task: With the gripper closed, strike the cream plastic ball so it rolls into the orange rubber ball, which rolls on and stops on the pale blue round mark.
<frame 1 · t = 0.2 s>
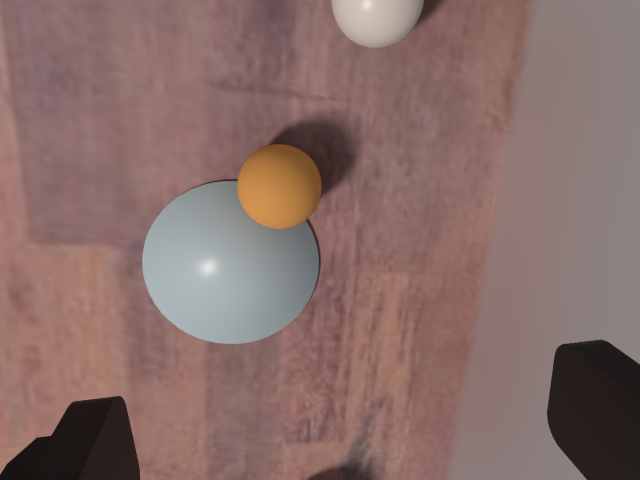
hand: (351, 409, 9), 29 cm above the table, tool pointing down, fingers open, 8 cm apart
object ball: (279, 186, 33), on the table
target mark: (233, 266, 37), on the table
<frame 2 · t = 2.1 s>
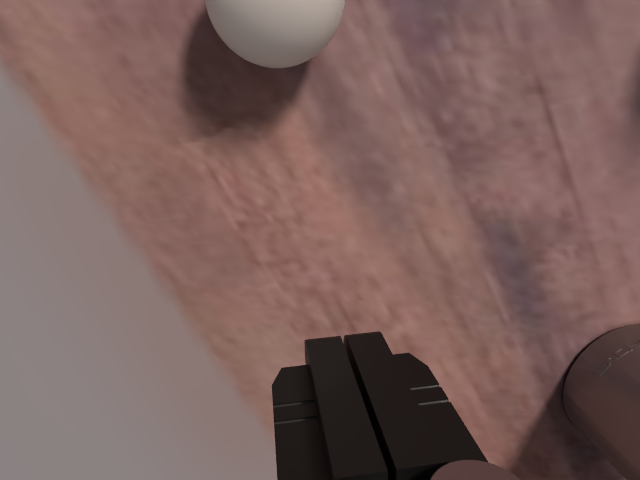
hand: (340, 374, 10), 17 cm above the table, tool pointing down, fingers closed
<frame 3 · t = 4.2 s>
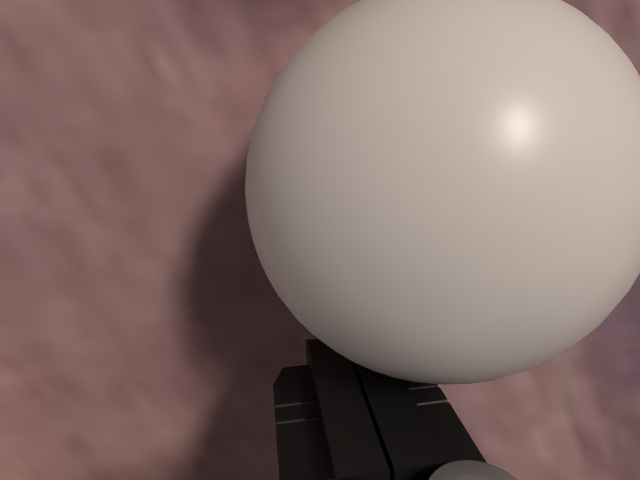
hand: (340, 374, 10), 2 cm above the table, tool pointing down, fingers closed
cue ball: (433, 189, 7), on the table
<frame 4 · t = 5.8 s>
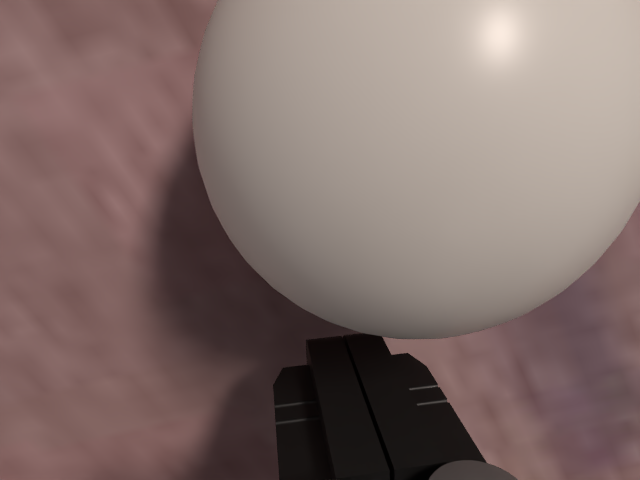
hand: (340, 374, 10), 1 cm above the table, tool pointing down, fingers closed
cue ball: (407, 126, 7), on the table
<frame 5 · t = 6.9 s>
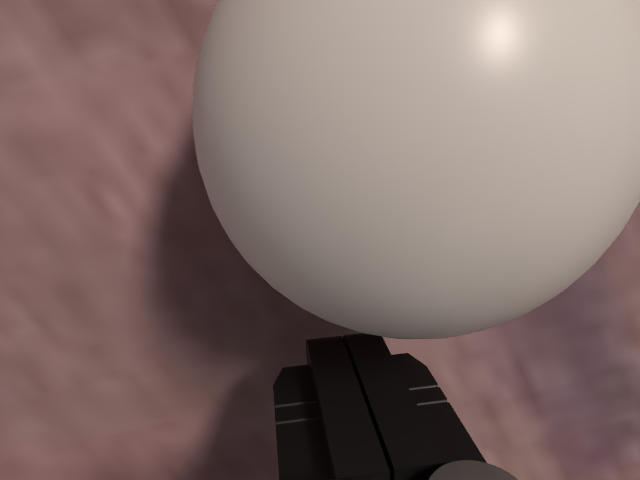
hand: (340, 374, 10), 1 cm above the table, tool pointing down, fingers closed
cue ball: (407, 126, 7), on the table
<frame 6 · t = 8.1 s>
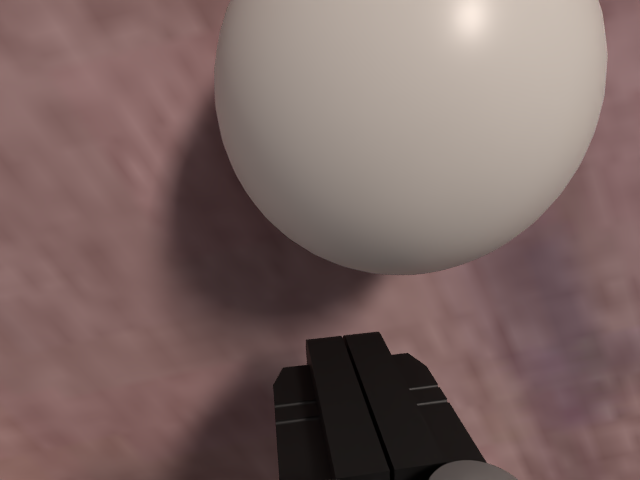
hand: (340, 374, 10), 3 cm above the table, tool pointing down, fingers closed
cue ball: (397, 96, 8), on the table
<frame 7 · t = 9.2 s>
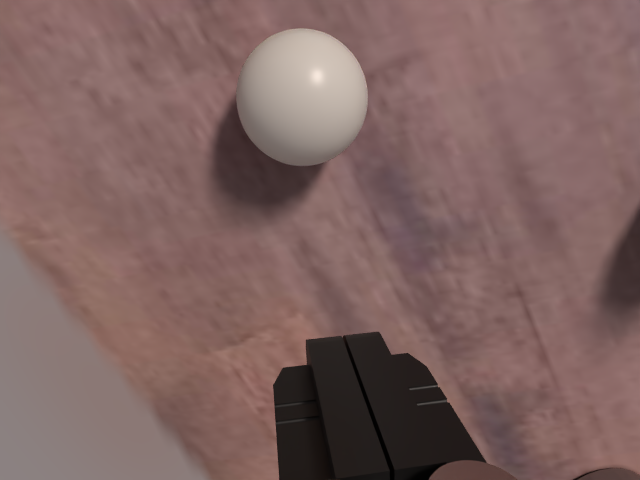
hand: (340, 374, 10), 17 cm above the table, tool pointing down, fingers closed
cue ball: (302, 100, 21), on the table
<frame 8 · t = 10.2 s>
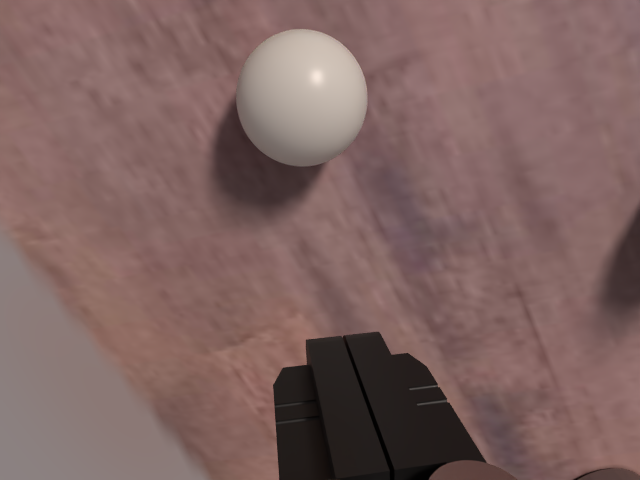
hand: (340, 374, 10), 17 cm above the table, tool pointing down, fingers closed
cue ball: (302, 100, 21), on the table
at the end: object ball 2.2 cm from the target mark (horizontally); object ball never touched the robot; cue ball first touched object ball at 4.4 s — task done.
